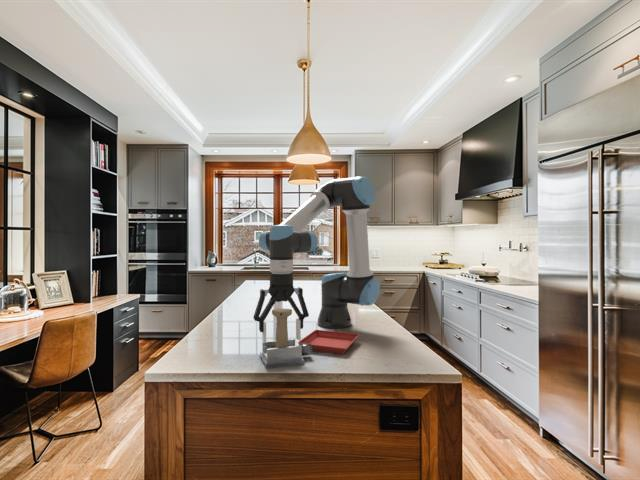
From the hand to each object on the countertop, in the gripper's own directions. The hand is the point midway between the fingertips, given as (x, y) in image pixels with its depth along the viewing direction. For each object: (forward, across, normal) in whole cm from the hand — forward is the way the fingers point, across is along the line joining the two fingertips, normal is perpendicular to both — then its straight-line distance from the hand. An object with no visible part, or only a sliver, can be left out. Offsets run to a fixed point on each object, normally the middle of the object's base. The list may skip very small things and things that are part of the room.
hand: (281, 340), depth 120 cm
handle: (+5, 0, 0) cm, 5 cm away
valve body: (+6, +2, 0) cm, 7 cm away
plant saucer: (+7, +20, +9) cm, 23 cm away
